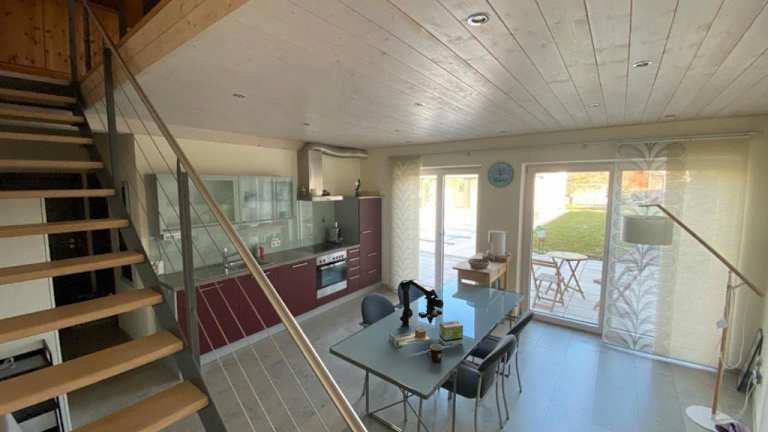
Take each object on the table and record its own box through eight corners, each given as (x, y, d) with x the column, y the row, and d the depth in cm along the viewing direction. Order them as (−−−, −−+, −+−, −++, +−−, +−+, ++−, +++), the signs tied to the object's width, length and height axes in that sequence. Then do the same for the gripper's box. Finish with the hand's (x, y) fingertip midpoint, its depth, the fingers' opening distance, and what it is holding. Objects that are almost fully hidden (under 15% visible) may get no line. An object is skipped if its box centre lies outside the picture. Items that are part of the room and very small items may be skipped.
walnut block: (415, 335, 256) (415, 329, 256) (421, 333, 259) (421, 327, 258) (418, 338, 251) (418, 332, 250) (425, 336, 253) (425, 330, 253)
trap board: (389, 339, 253) (389, 333, 253) (421, 332, 264) (421, 326, 263) (397, 348, 239) (397, 341, 239) (430, 340, 250) (430, 334, 249)
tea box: (444, 347, 241) (445, 327, 239) (439, 340, 250) (439, 322, 249) (463, 344, 245) (463, 325, 243) (456, 337, 254) (456, 319, 253)
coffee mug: (441, 357, 227) (441, 343, 226) (443, 364, 218) (444, 349, 217) (424, 357, 226) (424, 343, 225) (426, 364, 218) (426, 350, 217)
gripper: (425, 310, 245) (424, 330, 246) (446, 306, 252) (445, 326, 253) (418, 305, 255) (418, 324, 257) (438, 301, 262) (438, 320, 264)
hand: (430, 323), depth 257 cm, fingers closed
